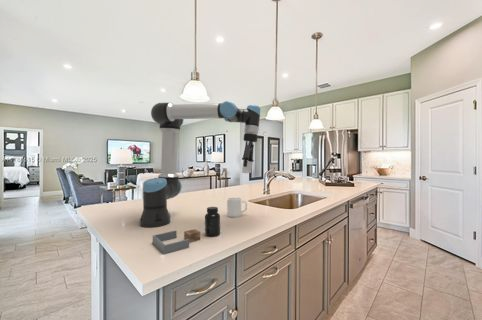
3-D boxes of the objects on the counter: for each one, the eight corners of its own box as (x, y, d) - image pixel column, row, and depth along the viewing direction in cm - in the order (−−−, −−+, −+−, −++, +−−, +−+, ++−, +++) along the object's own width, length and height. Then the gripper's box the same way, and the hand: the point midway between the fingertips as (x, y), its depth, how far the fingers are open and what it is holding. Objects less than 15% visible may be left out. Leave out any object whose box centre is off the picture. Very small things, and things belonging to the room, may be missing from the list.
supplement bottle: (212, 230, 104) (212, 205, 104) (223, 233, 100) (223, 207, 99) (201, 234, 99) (201, 208, 99) (212, 238, 94) (212, 210, 94)
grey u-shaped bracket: (175, 237, 96) (175, 230, 96) (189, 247, 85) (189, 239, 85) (152, 242, 90) (152, 235, 90) (163, 254, 79) (163, 246, 79)
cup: (226, 214, 133) (226, 197, 133) (245, 213, 136) (245, 196, 136) (228, 218, 125) (228, 200, 125) (248, 216, 128) (248, 199, 128)
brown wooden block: (194, 236, 97) (194, 229, 96) (200, 240, 93) (200, 231, 93) (184, 239, 93) (184, 231, 93) (189, 243, 89) (189, 234, 89)
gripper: (255, 130, 106) (250, 174, 106) (259, 138, 131) (256, 173, 130) (240, 129, 108) (235, 172, 107) (247, 137, 132) (243, 171, 132)
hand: (246, 172), depth 119 cm, fingers open, 13 cm apart
